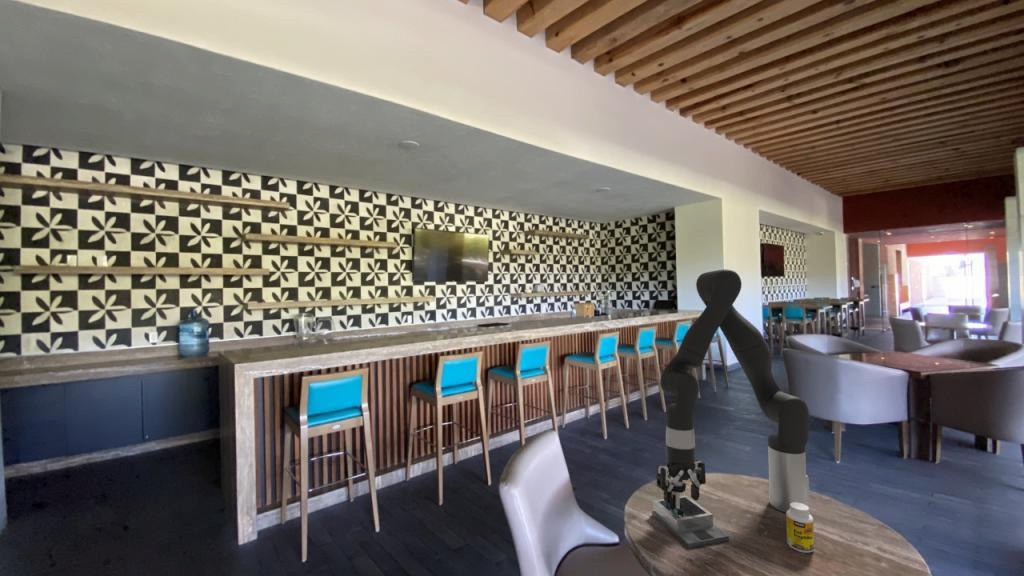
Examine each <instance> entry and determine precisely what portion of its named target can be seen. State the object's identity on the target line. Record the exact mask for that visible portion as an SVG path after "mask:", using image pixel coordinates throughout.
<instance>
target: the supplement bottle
mask: <svg viewBox="0 0 1024 576" xmlns="http://www.w3.org/2000/svg"><path fill="white" fill-rule="evenodd" d="M785 513H786V519H785V520H786V543H787V544H788V546H789V547H790V548H791V549H793V550H795V551H798V552H800V553H804V554H805V553H806V554H808V553H812V552H814V550H815V540H814V539H815V537H814V535H815V534H814V529H815V528H814V517H813V516H812V515H811V512H810V509H809V507H808V506H806V505H804V504H801V503H797V502H792V503H790V509H789V510H788V511H787V512H785Z"/></svg>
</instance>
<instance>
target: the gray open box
mask: <svg viewBox="0 0 1024 576" xmlns="http://www.w3.org/2000/svg"><path fill="white" fill-rule="evenodd" d="M680 503H681V504H682V510H683V517H682V518H677V517H676V516H675V515H674V514H672V513H671V512H670V505H669V504H667V503H666V501H664V498H659V499H655V500H652V505H653V508H652V510H651V516H652V517H653V518H654V519H655V520H657V521H658V522H659V524H660V525H662V526H663V527H664V528H665V529H666V530H668V531H669V533H670V534H672V535H673V537H675V538H676V539H677V540H679V542H681V543H682V544H683V545H684V546H685V548H687V549H690V550H691V549H694V548H699V547H704V546H708V545H714V544H719V543H723V542H729V540H730V536H729V535H728V534H727V533H725V532H724V531H723V530H722V529H720V528H719V527H717V526H716V525H715V524H714V514H713V513H711V512H710V511H709V510H707V509H706V508H705V507H703V506H701V504H699V503H697V502H696V501H695V500H694V499H692V497H690V496H688V495H680Z"/></svg>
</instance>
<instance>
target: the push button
mask: <svg viewBox="0 0 1024 576" xmlns="http://www.w3.org/2000/svg"><path fill="white" fill-rule="evenodd" d="M673 479H674V478H673V477H671V480H673ZM668 485H669V484H668ZM686 488H687V484H686V483H685V482H684V480H682V481H678V482H677V484H676V485H674V486H673V488H672V490H671V492H672V505H670V512H671V513H672V514H674V515H675V516H676V517H677V518H682V517H683V510H682V504H681V503H680V496H681V494H682V493H684V492H686Z"/></svg>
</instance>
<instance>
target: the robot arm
mask: <svg viewBox="0 0 1024 576" xmlns="http://www.w3.org/2000/svg"><path fill="white" fill-rule="evenodd" d="M695 284H696V285H695V288H696V292H697V294H698V295H699V298H700V299H701V301H702V302H703V304H704V305H705V306H706V307H705V308H704V310H703V311H702V312H701V314H700V315H699V317H697V319H696V320H695V321H694V322H693V323H692V324H691V325H690V327H689V328H688V329H687V331H686V332H685V334H684V336H683V338H682V341H681V343H680V345H679V348H678V351H677V353H676V354H675V355H674V357H672V359H671V360H670V362H669V363H668V364H667V365H666V367H665V368H664V370H663V372H661V373H662V374H661V375H660V380H659V383H660V389H661V390H662V391H663V392H664V393H666V394H667V395H671V396H674V397H676V400H675V402H674V403H672V404H671V403H670V404H669V405H667V407H666V410H665V412H666V413H665V414H666V415H665V418H666V423H665V424H666V427H665V428H666V429H665V448H666V449H665V451H666V452H665V456H666V461H667V463H666V465H660V464H658V465H657V466H656V487H657V488H659V489H660V490H662V491H663V499H664V501H666V503H667V504H669V505H672V492H671V490H672V488H673V486H674V485H676V484H677V482H678V481H682V480H683V481H689V482H690V483H691V484H690V498H691V499H692V500H693V501H695V502H696V501H699V498H700V487H701V485H705V484H706V483H707V482H706V479H707V477H706V464H705V462H702V461H701V460H699V459H696V435H695V429H694V412H695V409H696V406H697V405H696V404H697V400H698V397H699V391H700V388H699V386H700V385H699V383H698V380H697V378H696V377H695V376H694V375H693V374H692V373H688V372H689V371H691V370H692V369H698V368H700V367H701V366H702V364H703V363H704V360H705V357H706V356H707V353H708V350H709V348H710V346H711V343H712V341H713V340H714V339H713V338H714V336H715V335H716V333H717V331H718V329H719V328H720V331H721V332H722V334H723V335H724V338H725V340H726V341H727V343H728V344H729V347H730V349H731V351H732V353H733V355H734V357H735V358H736V360H737V361H738V363H739V366H740V367H741V369H742V370H743V373H744V375H745V376H746V378H747V380H748V382H749V383H750V386H751V387H752V390H753V393H754V395H755V397H756V399H757V403H758V405H759V407H760V410H761V412H762V413H763V415H764V416H765V417H766V418H767V419H768V420H770V421H771V422H774V423H776V424H777V425H778V426H777V427H778V428H777V433H771V434H770V435H769V436H768V437H767V448H768V449H767V452H768V453H767V455H768V456H767V457H768V484H769V485H768V487H769V489H768V490H769V492H768V493H769V504H770V506H772V507H773V508H774V509H776V510H779V511H781V512H783V513H786V512H787V511H788V510H789V509H790V503H792V502H797V503H801V504H804V505H806V506H808V507H809V510H810V505H811V503H810V478H809V476H808V475H807V465H806V463H807V462H806V459H807V458H806V456H807V455H806V446H807V444H808V443H809V442H808V441H809V434H810V433H809V432H810V431H809V430H810V412H809V408H808V405H807V403H806V402H805V400H803V399H801V398H800V397H798V396H794V395H791V394H788V393H785V392H784V391H783V390H782V389H781V388H780V386H779V384H778V382H777V381H776V379H775V377H774V376H773V372H772V368H773V367H772V366H773V355H772V352H771V349H770V347H769V344H768V343H767V341H766V339H765V338H764V336H763V334H762V333H761V331H760V330H759V329H758V328H757V327H756V326H755V324H753V323H751V322H750V321H749V320H748V319H747V318H746V317H744V316H743V315H742V314H741V313H740V312H739V311H738V310H737V308H735V307H734V305H733V304H734V303H735V302H736V300H737V298H738V297H739V294H740V292H741V290H742V279H741V277H740V275H739V273H737V271H735V270H732V269H727V268H725V269H719V270H718V269H717V270H711V271H706V272H703V273H701V274H700V275H699V276H698V277H697V279H696V282H695ZM694 471H695V473H694ZM672 477H673V478H674V479H673V480H671V478H672ZM668 484H669V485H668Z"/></svg>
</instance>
